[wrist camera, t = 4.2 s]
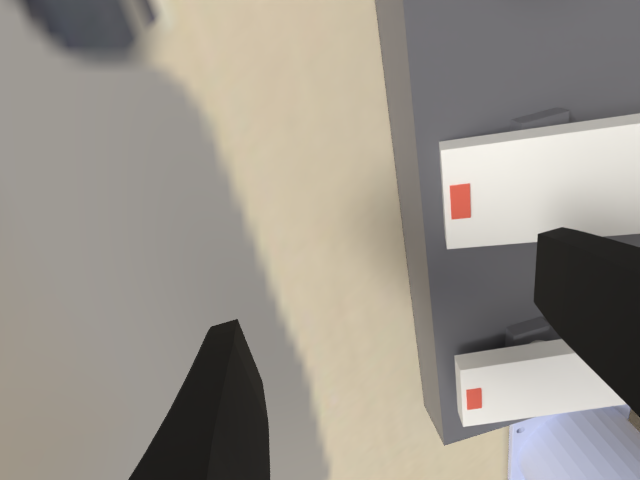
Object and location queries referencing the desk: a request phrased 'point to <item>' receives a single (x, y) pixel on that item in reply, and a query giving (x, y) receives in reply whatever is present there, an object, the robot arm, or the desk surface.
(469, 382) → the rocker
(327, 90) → the desk surface
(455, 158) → the rocker middle
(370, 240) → the desk surface
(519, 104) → the rocker switch panel
